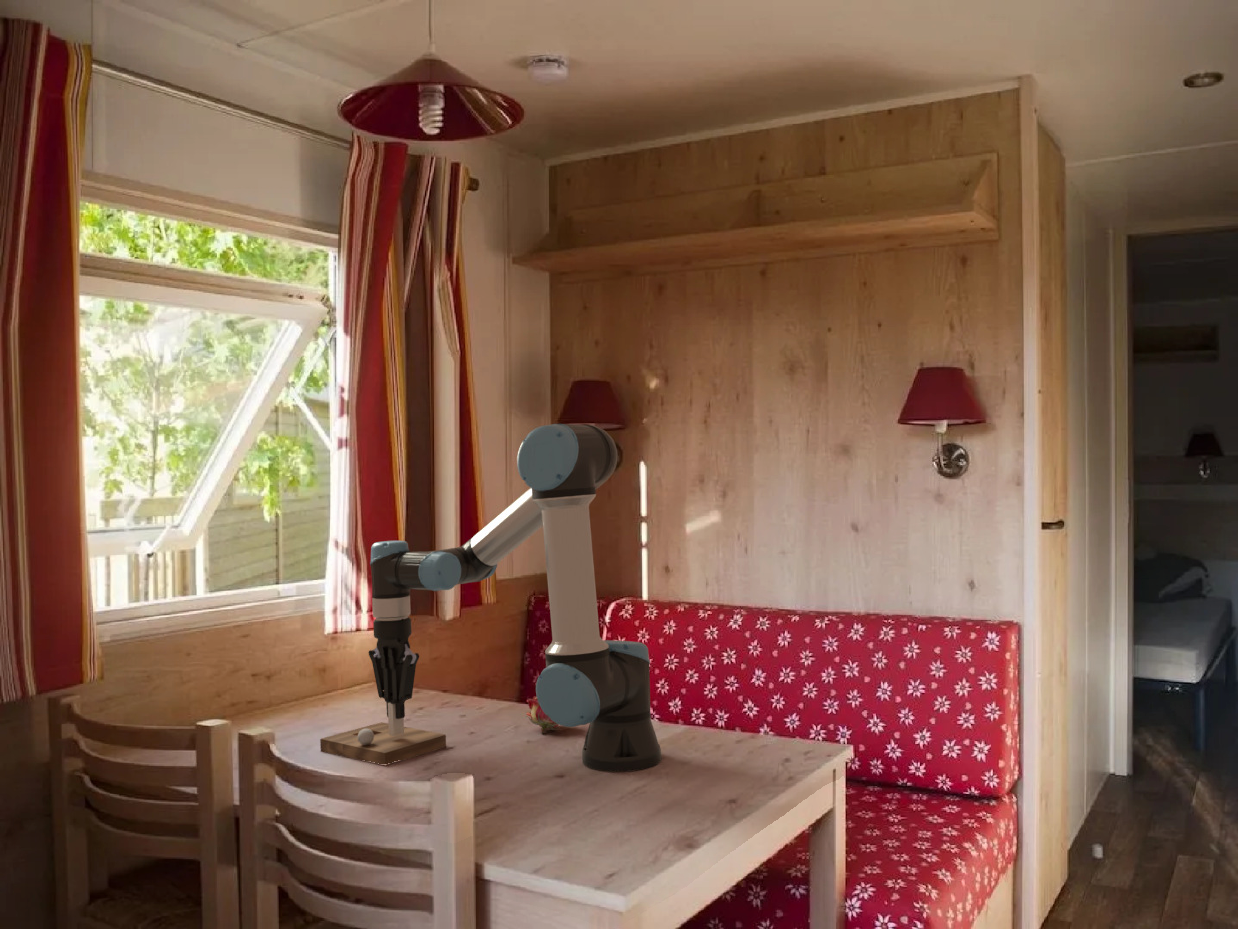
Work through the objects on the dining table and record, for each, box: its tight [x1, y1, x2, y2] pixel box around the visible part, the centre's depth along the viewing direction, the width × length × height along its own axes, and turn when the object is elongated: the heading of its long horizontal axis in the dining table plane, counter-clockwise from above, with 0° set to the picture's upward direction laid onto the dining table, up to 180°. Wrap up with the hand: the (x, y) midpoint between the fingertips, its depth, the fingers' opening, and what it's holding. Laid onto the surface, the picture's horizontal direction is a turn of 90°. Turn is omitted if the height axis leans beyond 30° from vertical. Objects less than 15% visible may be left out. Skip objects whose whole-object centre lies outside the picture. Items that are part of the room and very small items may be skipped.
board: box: [319, 721, 447, 765], centre depth 226 cm, size 20×16×2 cm
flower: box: [526, 695, 562, 735], centre depth 237 cm, size 10×9×8 cm
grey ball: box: [358, 729, 374, 745], centre depth 220 cm, size 3×3×3 cm
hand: (396, 733), depth 224 cm, fingers closed
